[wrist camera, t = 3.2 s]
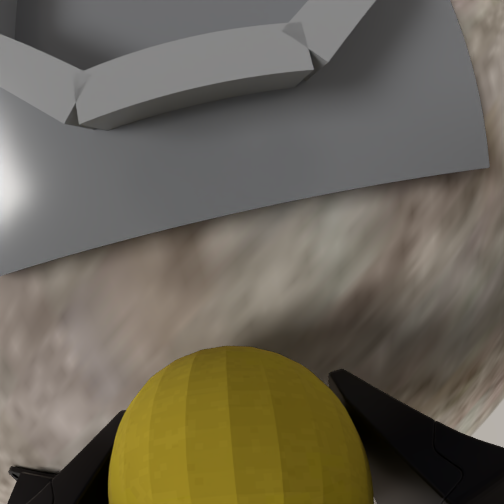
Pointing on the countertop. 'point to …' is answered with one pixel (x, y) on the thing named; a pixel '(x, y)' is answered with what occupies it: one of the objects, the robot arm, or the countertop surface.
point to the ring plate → (217, 111)
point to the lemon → (237, 436)
